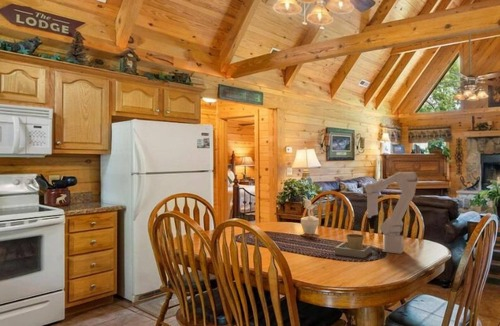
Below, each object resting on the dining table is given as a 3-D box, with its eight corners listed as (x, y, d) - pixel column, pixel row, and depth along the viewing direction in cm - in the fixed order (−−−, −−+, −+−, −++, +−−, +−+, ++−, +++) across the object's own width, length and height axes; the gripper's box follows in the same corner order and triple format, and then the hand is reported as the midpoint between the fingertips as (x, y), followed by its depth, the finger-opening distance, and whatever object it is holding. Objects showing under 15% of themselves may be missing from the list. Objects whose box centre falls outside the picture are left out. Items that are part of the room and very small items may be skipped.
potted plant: (297, 232, 250) (297, 194, 249) (312, 231, 255) (312, 194, 254) (308, 236, 238) (308, 196, 238) (323, 234, 243) (323, 195, 243)
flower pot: (344, 253, 196) (344, 236, 196) (347, 249, 205) (347, 233, 205) (363, 254, 193) (363, 238, 193) (365, 250, 202) (365, 234, 202)
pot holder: (371, 252, 198) (371, 245, 198) (363, 258, 187) (363, 251, 187) (343, 248, 206) (343, 242, 206) (334, 254, 195) (334, 247, 195)
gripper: (368, 202, 221) (368, 226, 221) (361, 205, 209) (361, 230, 209) (381, 203, 217) (381, 227, 218) (374, 206, 205) (374, 231, 205)
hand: (372, 228), depth 213 cm, fingers closed
